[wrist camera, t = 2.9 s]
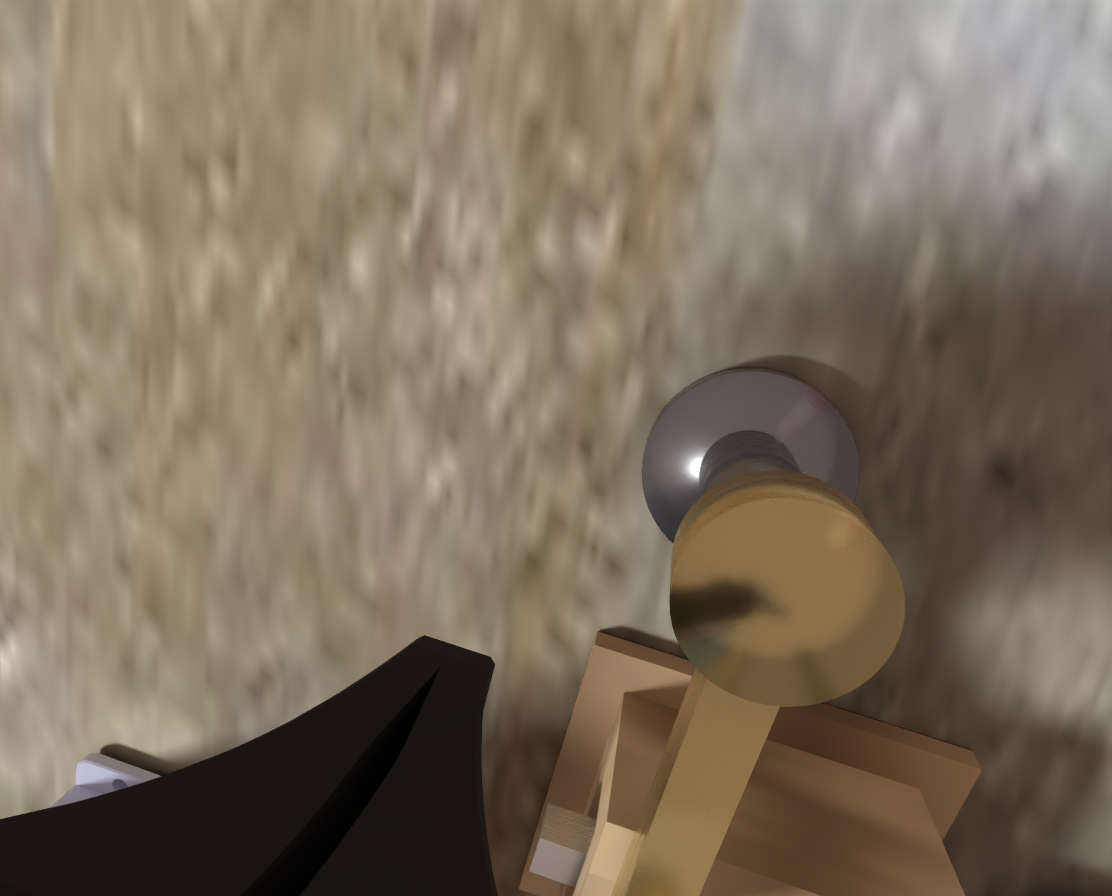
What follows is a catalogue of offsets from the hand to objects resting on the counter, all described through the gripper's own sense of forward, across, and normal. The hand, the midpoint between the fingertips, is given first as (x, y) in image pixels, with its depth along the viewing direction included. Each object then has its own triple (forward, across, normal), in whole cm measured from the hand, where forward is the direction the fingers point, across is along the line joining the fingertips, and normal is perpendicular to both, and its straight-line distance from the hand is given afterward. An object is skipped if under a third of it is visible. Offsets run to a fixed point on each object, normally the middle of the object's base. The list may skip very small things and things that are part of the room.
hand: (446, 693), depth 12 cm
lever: (0, -4, -1) cm, 4 cm away
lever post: (+5, -4, -4) cm, 8 cm away
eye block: (+5, -7, +5) cm, 10 cm away
